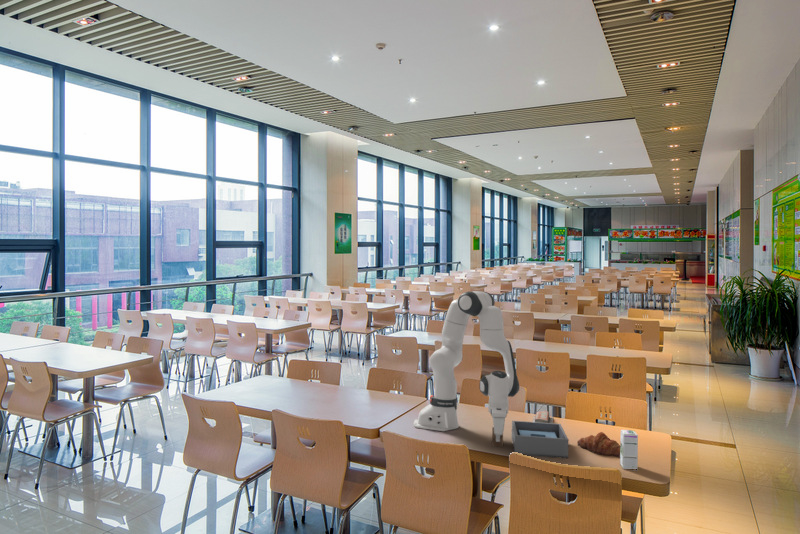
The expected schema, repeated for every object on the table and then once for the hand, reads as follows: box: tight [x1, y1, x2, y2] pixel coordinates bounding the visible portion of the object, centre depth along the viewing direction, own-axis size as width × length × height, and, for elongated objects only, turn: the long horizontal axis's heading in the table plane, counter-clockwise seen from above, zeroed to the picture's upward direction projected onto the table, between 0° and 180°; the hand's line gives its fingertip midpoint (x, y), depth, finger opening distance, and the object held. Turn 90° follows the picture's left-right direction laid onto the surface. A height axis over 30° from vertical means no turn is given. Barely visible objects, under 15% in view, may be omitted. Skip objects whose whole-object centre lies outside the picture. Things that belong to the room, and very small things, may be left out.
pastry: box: [577, 431, 620, 457], centre depth 238 cm, size 17×15×8 cm
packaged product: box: [532, 410, 554, 423], centre depth 277 cm, size 18×5×10 cm
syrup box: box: [619, 429, 639, 470], centre depth 219 cm, size 6×6×14 cm
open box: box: [511, 420, 569, 459], centre depth 240 cm, size 22×22×8 cm
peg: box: [491, 426, 504, 447], centre depth 242 cm, size 4×4×7 cm
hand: (497, 438), depth 242 cm, fingers open, 5 cm apart
